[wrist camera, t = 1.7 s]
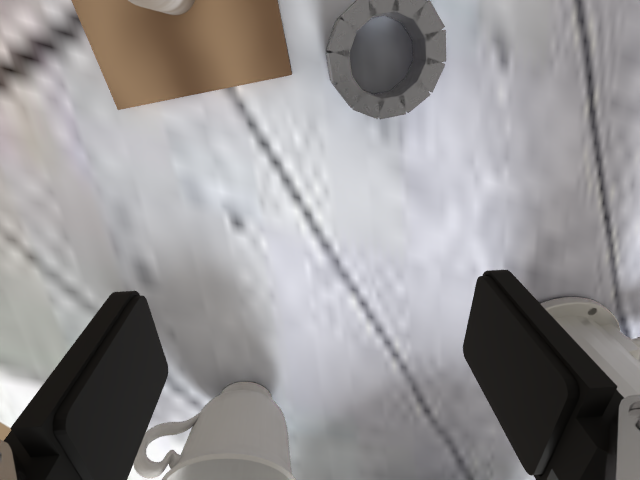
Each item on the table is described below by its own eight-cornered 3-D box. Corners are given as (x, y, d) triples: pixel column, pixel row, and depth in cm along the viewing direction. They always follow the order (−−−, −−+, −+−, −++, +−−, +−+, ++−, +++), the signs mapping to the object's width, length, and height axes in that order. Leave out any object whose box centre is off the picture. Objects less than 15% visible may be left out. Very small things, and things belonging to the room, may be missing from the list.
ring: (428, -17, 23) (445, -25, 20) (431, 100, 26) (446, 106, 23) (318, 6, 23) (321, 1, 20) (336, 119, 26) (339, 126, 24)
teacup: (189, 332, 35) (150, 428, 26) (320, 382, 39) (326, 480, 30) (148, 406, 40) (104, 509, 31) (270, 444, 44) (262, 544, 35)
